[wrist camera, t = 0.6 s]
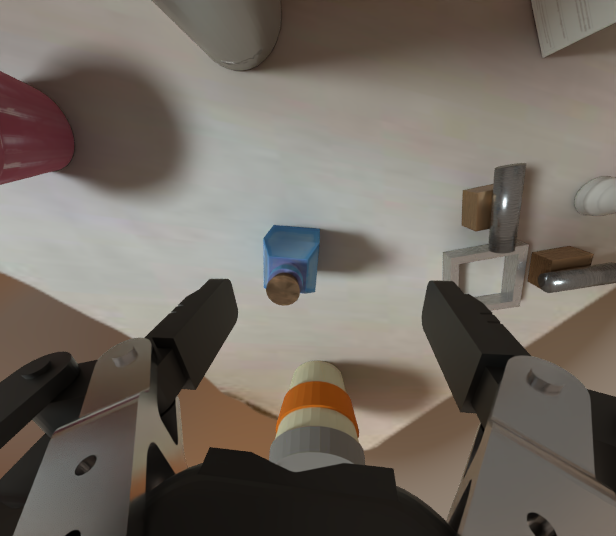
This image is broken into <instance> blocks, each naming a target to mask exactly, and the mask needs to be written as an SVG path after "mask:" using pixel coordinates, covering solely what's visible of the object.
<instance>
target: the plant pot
mask: <svg viewBox="0 0 616 536" xmlns="http://www.w3.org/2000/svg"><path fill="white" fill-rule="evenodd" d="M73 153H74V137H73V133H72V130H71V127H70V125H69V123H68V121H67V119H66V117H65V115H64V114H63V113H62V111H61V110H60V108H59V107H58V106H57V105H56V104H55V103H54V102H53V101H52V100H51V99H50V98H49V97H48V96H46V95H45V94H44V93H42V92H41V91H39V90H37V89H35V88H33V87H31V86H29V85H27V84H25V83H23V82H21V81H19V80H17V79H15V78H13V77H11V76H9V75H7V74H5V73H3V72H1V71H0V185H1V184H5V183H9V182H13V181H17V180H21V179H25V178H29V177H32V176H36V175H40V174H44V173H48V172H52V171H57V170H60V169H62V168H64V167H65V166H67V165H68V164H69V162H70V161H71V159H72V157H73Z"/></svg>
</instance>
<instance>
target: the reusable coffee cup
mask: <svg viewBox="0 0 616 536" xmlns="http://www.w3.org/2000/svg"><path fill="white" fill-rule="evenodd" d="M358 437H359V429H358V425H357V422H356V418H355V414H354V410H353V407H352V403H351V399H350V397H349V396H348V394H347V393H346V390H345V386H344V382H343V378H342V374H341V372H340V371H339V370H338V369H337V368H336V367H335V366H334V365H332V364H330V363H327V362H324V361H310V362H307V363H304V364H302V365H301V366H299V367H298V368H297V369H296V371H295V372H294V375H293V379H292V382H291V385H290V389H289V391H288V393H287V394H286V396H285V398H284V401H283V404H282V407H281V411H280V414H279V417H278V421H277V424H276V438H275V440H274V441H273V443H272V445H271V447H270V456H269V461H271V462H273V463H275V464H277V465H279V466H281V467H283V468H285V469H287V470H289V471H292V472H301V471H306V470H311V469H316V468H321V467H326V466H331V465H336V464H341V463H350V464H359V465H365V457H364V451H363V448H362V447H361V445H360V444H359V441H358Z"/></svg>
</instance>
